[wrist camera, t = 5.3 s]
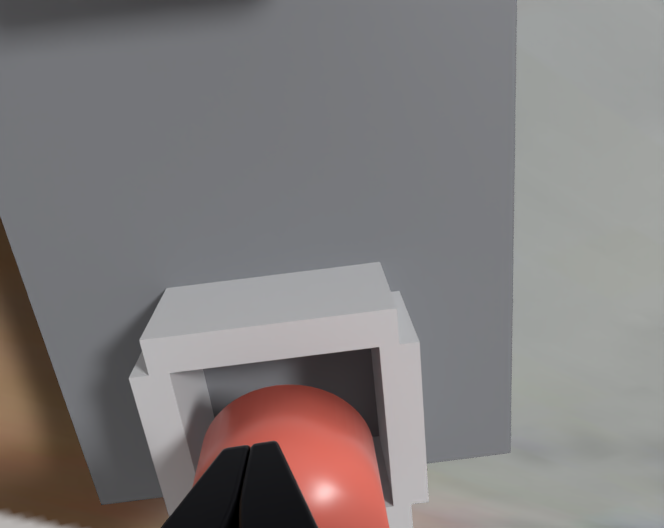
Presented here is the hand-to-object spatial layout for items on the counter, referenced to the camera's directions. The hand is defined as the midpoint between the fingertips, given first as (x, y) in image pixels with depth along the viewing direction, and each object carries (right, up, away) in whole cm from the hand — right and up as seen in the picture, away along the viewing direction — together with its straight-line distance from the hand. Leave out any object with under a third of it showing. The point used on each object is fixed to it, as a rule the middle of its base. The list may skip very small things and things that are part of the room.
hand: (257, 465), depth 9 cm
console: (-1, +8, +10) cm, 13 cm away
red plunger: (0, -2, +6) cm, 6 cm away
